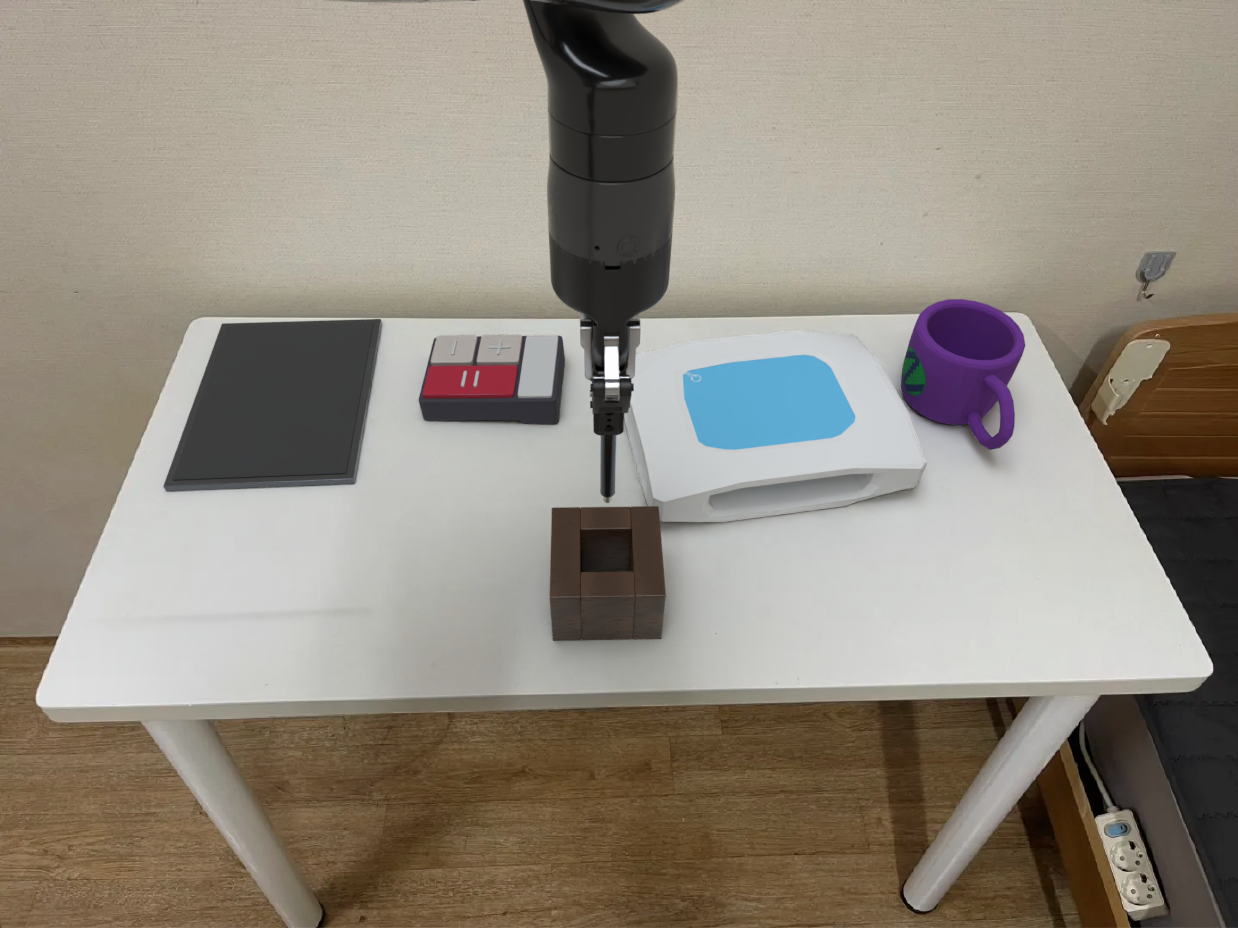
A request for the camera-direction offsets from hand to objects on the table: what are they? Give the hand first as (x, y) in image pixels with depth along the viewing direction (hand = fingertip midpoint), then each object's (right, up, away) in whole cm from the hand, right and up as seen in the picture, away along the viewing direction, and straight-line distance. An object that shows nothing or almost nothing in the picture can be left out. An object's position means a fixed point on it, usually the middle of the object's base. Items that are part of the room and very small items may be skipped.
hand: (608, 423), depth 66 cm
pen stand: (0, -15, +17) cm, 23 cm away
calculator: (-13, +5, +36) cm, 38 cm away
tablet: (-37, +4, +34) cm, 50 cm away
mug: (+39, +2, +34) cm, 52 cm away
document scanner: (+16, -1, +31) cm, 35 cm away
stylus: (0, -6, +7) cm, 9 cm away
